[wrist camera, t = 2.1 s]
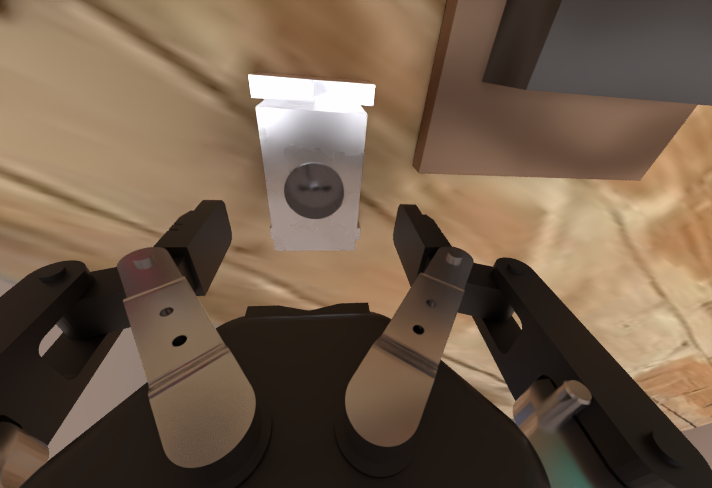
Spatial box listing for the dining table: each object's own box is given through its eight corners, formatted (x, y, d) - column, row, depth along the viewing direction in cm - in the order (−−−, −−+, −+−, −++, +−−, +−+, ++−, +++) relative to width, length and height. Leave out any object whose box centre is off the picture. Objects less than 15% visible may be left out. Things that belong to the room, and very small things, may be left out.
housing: (257, 71, 15) (233, 79, 11) (368, 80, 16) (386, 91, 11) (276, 222, 21) (265, 264, 16) (355, 223, 21) (364, 263, 17)
